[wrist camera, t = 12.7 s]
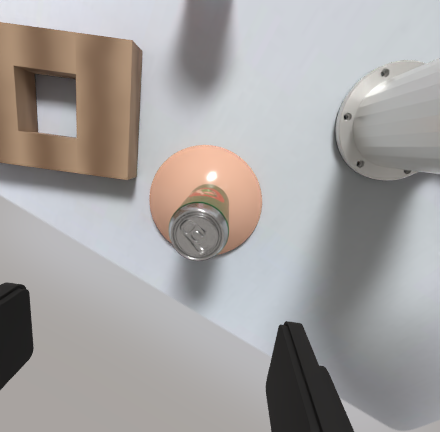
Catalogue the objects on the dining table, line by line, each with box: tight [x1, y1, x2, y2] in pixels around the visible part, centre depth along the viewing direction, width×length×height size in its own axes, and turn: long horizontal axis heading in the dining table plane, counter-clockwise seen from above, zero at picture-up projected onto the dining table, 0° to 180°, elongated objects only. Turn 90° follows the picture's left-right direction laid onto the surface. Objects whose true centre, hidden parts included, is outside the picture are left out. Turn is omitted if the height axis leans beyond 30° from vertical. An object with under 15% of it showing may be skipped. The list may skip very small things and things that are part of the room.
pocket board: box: [0, 22, 142, 180], centre depth 29 cm, size 18×14×3 cm
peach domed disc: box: [150, 145, 262, 255], centre depth 32 cm, size 14×14×1 cm
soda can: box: [169, 184, 229, 261], centre depth 26 cm, size 5×5×12 cm
